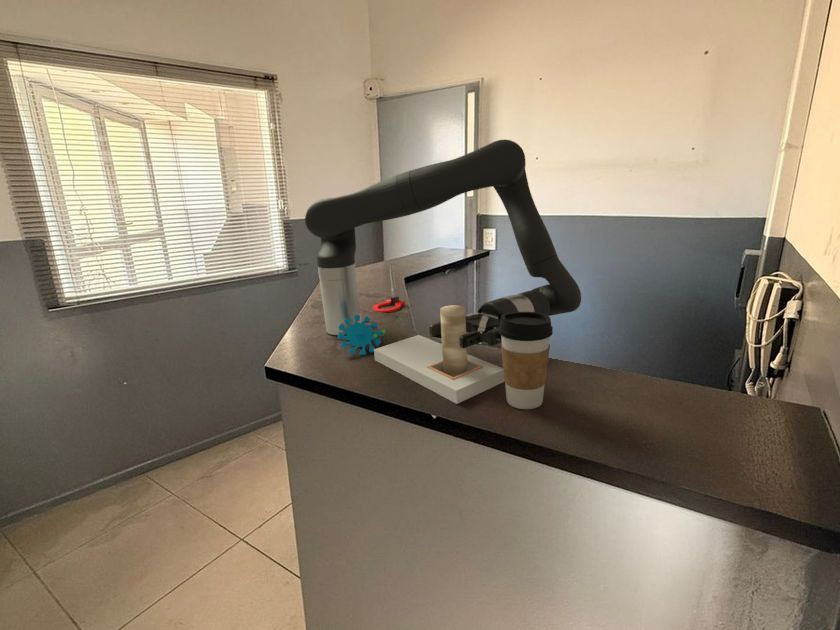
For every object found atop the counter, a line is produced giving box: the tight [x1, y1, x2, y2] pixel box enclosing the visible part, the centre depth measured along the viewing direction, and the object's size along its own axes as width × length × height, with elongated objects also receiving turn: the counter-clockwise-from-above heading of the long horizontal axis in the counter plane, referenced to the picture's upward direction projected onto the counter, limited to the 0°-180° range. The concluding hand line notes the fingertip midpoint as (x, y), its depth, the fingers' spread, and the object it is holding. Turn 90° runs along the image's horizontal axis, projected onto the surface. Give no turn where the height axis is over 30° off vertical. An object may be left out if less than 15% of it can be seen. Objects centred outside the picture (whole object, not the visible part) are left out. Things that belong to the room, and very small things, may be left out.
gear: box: [337, 315, 387, 356], centre depth 100 cm, size 11×6×10 cm
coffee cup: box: [499, 312, 554, 410], centre depth 71 cm, size 8×8×15 cm
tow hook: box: [372, 263, 406, 314], centre depth 128 cm, size 8×13×9 cm
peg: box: [439, 304, 468, 377], centre depth 80 cm, size 4×4×14 cm
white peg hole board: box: [373, 334, 505, 405], centre depth 87 cm, size 26×12×3 cm, turn 38°
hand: (445, 336), depth 79 cm, fingers open, 8 cm apart
